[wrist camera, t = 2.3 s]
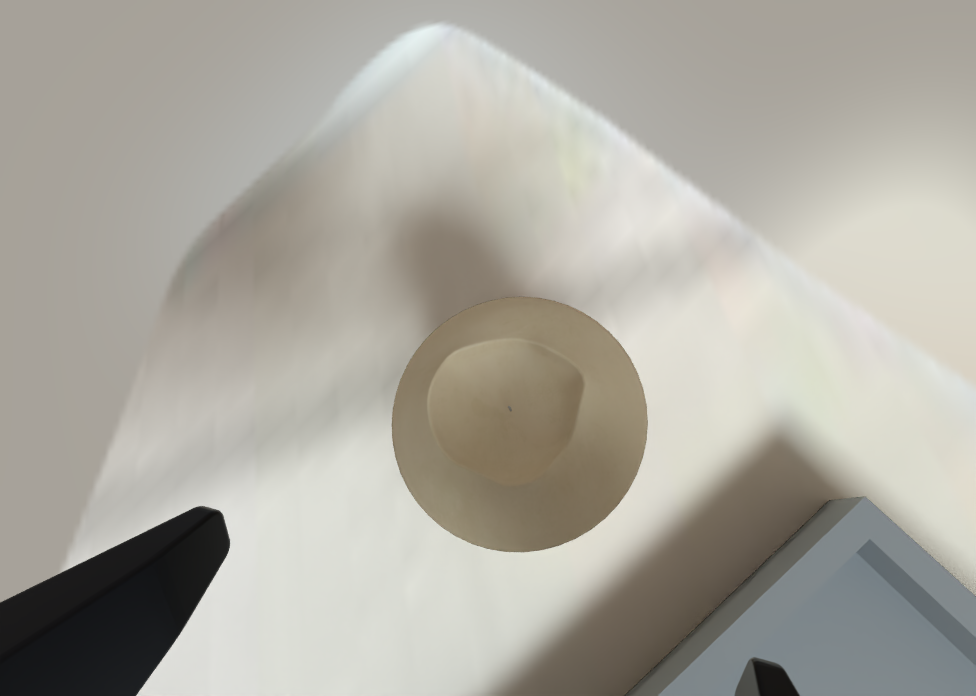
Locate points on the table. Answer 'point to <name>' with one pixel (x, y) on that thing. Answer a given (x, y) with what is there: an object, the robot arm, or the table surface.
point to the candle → (519, 424)
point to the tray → (835, 618)
